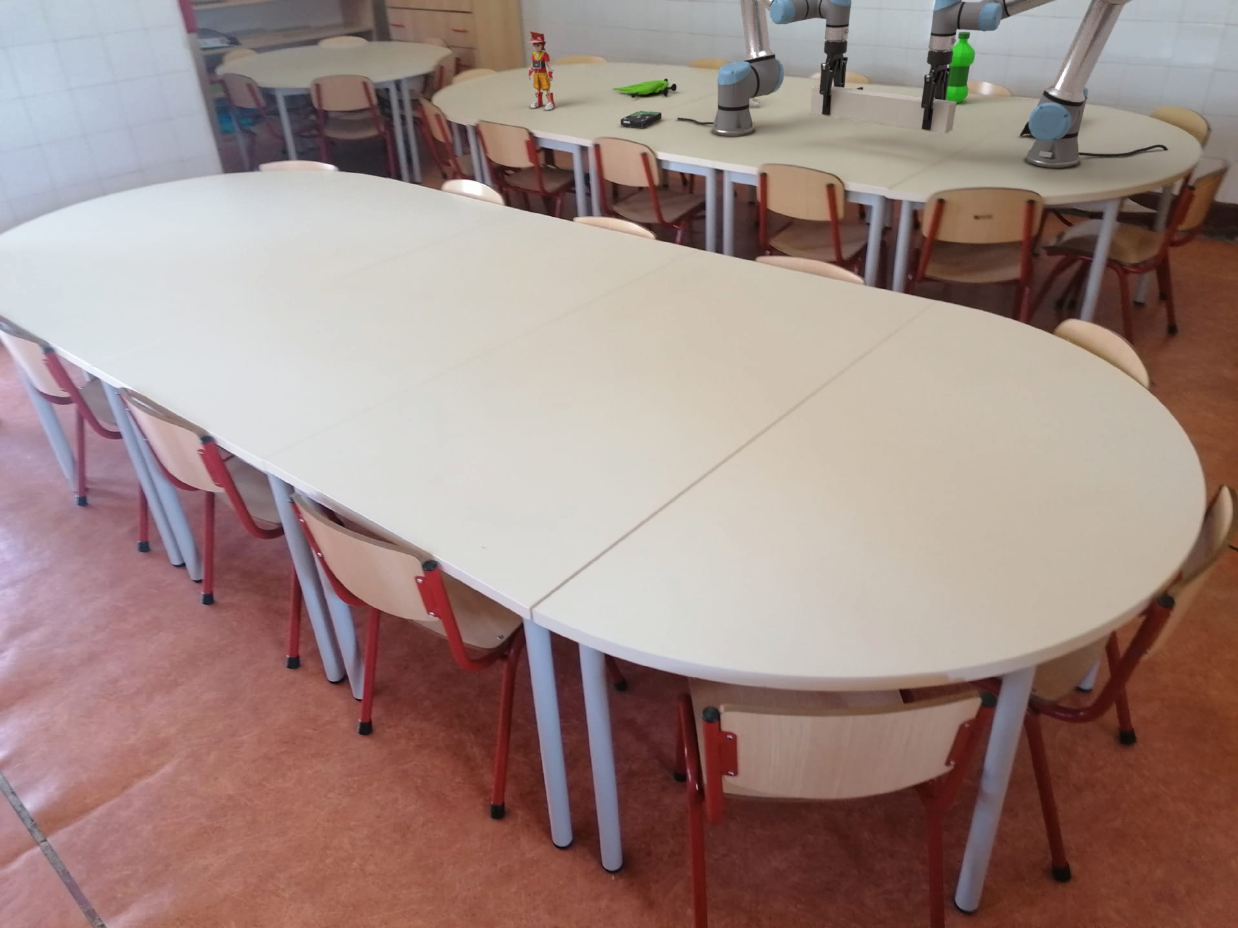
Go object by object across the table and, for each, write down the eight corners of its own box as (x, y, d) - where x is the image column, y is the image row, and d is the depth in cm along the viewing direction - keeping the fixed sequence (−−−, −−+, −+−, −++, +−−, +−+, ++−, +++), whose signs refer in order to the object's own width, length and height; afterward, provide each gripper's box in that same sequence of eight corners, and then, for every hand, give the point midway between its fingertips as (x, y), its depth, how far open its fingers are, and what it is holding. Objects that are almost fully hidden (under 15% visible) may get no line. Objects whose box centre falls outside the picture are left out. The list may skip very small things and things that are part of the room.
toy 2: (686, 85, 398) (631, 84, 414) (685, 72, 395) (629, 72, 411) (651, 104, 381) (596, 103, 397) (650, 92, 378) (594, 91, 394)
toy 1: (525, 109, 381) (517, 32, 364) (534, 104, 388) (527, 28, 371) (550, 110, 377) (543, 32, 360) (559, 105, 384) (553, 28, 367)
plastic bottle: (973, 101, 354) (984, 32, 339) (955, 106, 349) (966, 36, 335) (952, 97, 361) (962, 29, 346) (934, 102, 356) (944, 33, 342)
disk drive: (643, 129, 346) (662, 119, 356) (642, 121, 344) (661, 112, 354) (620, 126, 351) (639, 117, 361) (620, 119, 349) (639, 109, 359)
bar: (810, 113, 315) (811, 87, 310) (817, 110, 318) (819, 84, 313) (945, 133, 286) (949, 105, 281) (952, 130, 289) (956, 101, 284)
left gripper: (831, 46, 291) (825, 120, 305) (860, 36, 302) (853, 108, 315) (811, 44, 296) (806, 117, 309) (840, 35, 306) (834, 106, 320)
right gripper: (938, 56, 270) (927, 135, 283) (965, 45, 281) (953, 122, 294) (915, 54, 274) (906, 132, 288) (943, 44, 285) (932, 119, 298)
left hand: (830, 112), depth 312 cm, fingers closed on bar, 5 cm apart
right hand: (930, 127), depth 291 cm, fingers closed on bar, 5 cm apart
